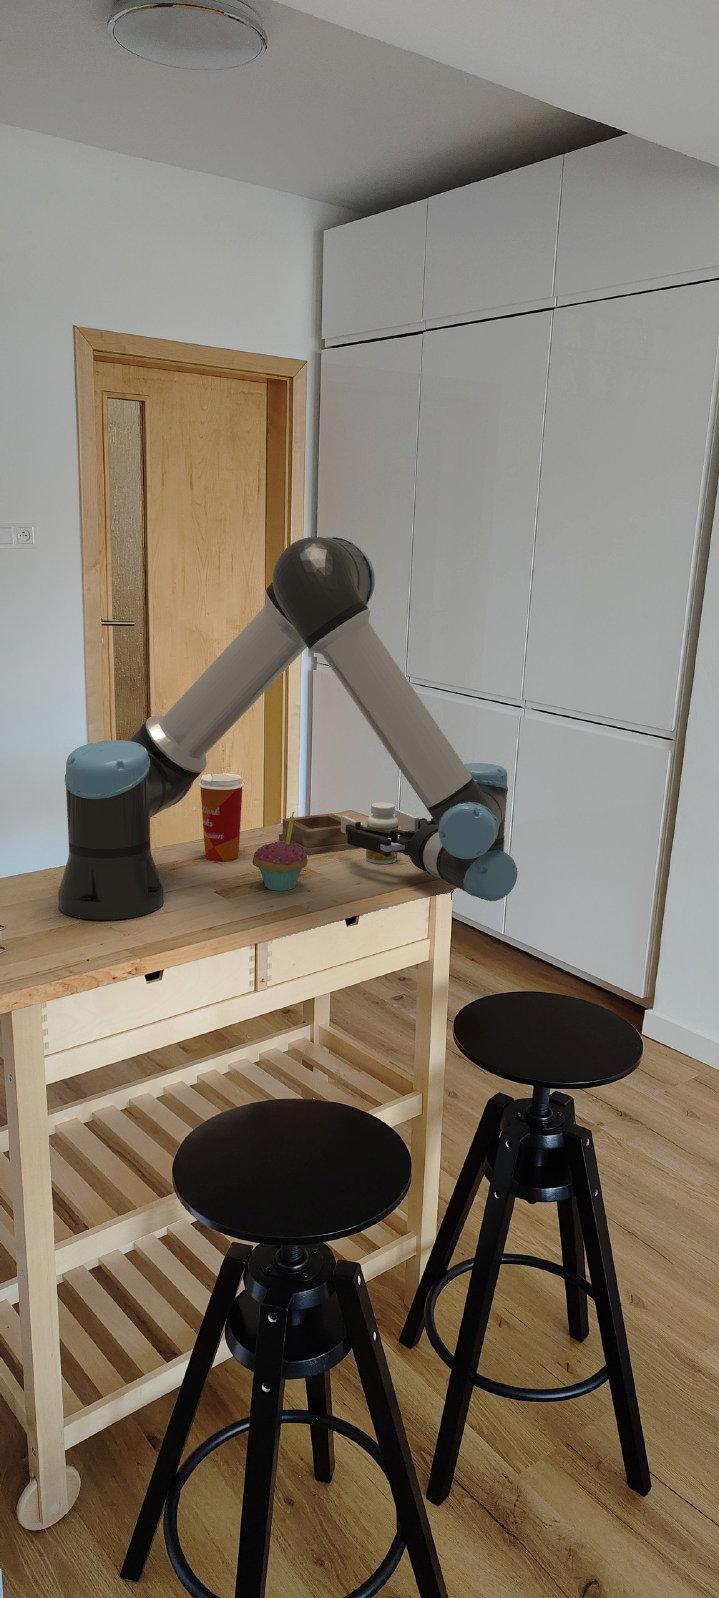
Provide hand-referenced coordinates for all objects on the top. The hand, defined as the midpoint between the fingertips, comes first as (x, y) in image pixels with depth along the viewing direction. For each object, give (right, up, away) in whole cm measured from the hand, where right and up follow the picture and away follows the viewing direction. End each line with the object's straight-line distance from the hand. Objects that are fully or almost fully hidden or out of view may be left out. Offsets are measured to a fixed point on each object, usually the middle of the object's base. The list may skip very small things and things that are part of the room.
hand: (370, 820), depth 187 cm
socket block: (-9, -4, +7) cm, 12 cm away
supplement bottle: (+2, -7, -2) cm, 8 cm away
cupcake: (-14, -10, -18) cm, 25 cm away
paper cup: (-25, -6, -3) cm, 26 cm away
